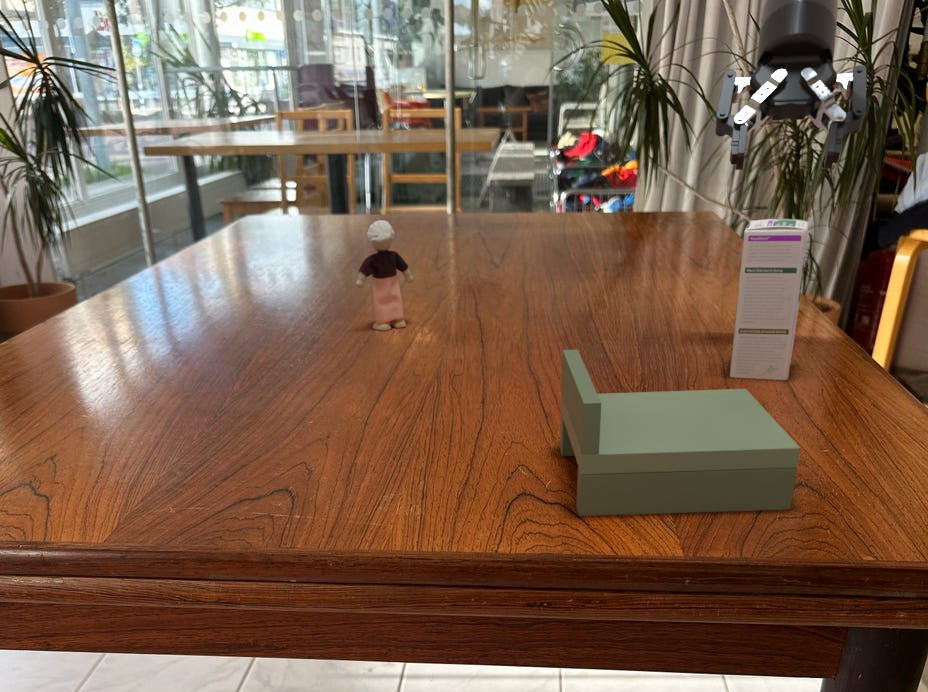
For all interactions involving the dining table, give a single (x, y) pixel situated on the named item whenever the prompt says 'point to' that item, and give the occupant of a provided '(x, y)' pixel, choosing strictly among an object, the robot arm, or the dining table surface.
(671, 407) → the toy bed
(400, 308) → the grandmother figurine
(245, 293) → the dining table surface
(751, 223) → the syrup box
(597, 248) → the dining table surface
